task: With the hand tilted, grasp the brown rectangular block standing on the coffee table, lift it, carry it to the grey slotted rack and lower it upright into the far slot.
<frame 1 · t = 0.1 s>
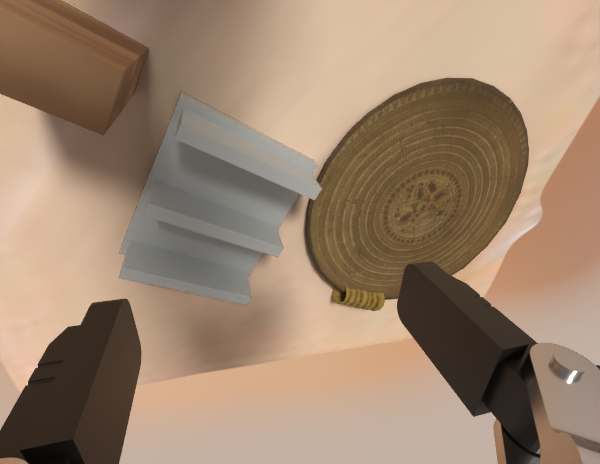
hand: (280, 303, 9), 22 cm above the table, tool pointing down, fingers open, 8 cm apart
brown rectangular block: (88, 44, 22), on the table
rack: (217, 201, 32), on the table
decorative disc: (412, 209, 39), on the table
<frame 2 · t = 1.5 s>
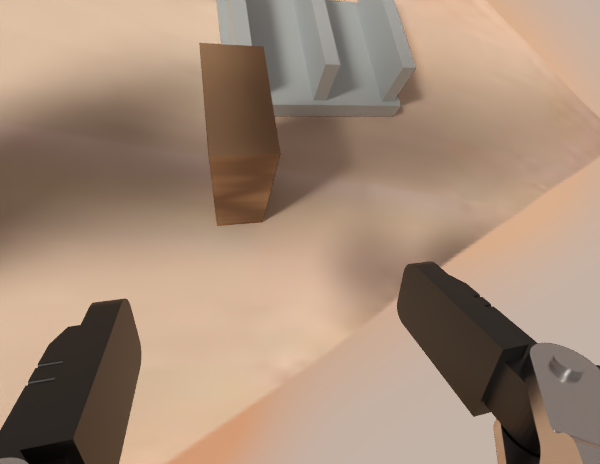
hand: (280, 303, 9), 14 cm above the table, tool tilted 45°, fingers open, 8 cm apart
brown rectangular block: (235, 183, 26), on the table
rack: (305, 60, 32), on the table
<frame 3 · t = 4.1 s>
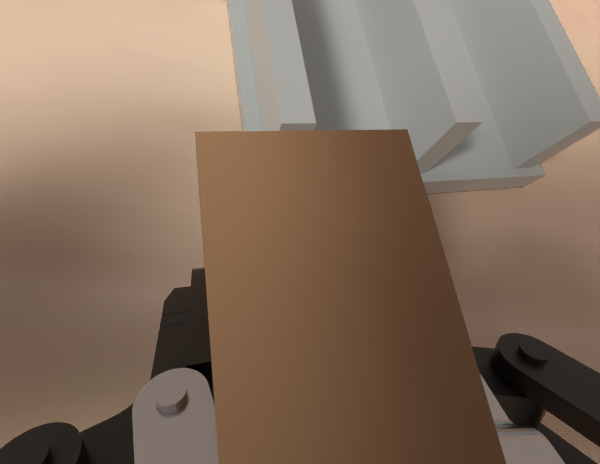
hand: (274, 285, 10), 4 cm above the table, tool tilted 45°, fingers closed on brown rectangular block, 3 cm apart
brown rectangular block: (269, 347, 13), on the table, touching gripper
rack: (374, 95, 19), on the table
when the fingers open (7 cm above the table, at t = 8.8 s): brown rectangular block drops 2 cm, resting on rack.
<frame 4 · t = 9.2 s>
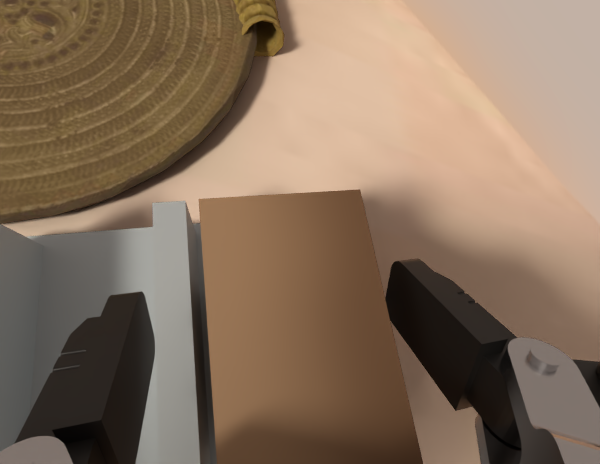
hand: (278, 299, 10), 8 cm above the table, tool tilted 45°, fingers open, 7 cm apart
brown rectangular block: (262, 351, 15), point 1 cm above the table, touching rack
rack: (193, 358, 16), on the table
decorative disc: (45, 21, 21), on the table
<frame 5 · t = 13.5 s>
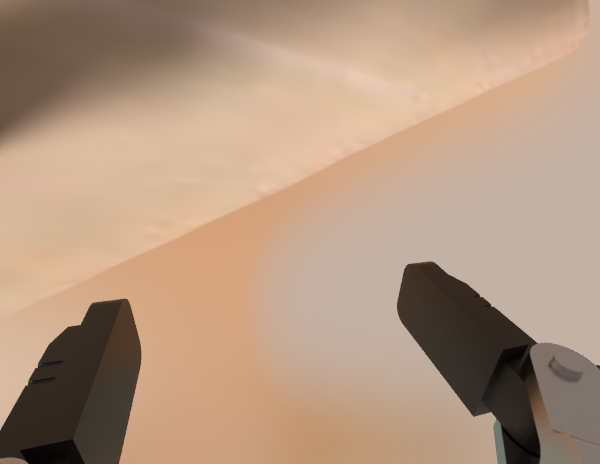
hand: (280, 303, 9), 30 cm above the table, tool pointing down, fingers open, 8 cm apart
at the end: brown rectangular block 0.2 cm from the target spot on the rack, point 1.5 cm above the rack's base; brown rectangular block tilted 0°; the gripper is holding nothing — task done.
